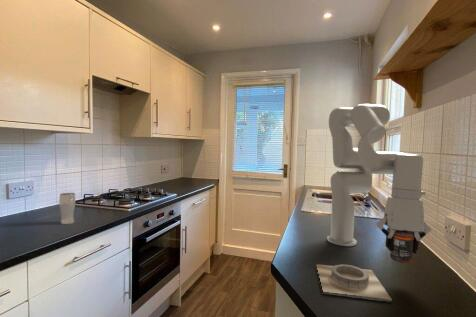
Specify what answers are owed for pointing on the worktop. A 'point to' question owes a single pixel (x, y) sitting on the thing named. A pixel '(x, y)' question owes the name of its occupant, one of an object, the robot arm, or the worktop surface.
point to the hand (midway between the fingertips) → (401, 250)
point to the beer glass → (67, 207)
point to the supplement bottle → (402, 246)
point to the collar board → (351, 281)
